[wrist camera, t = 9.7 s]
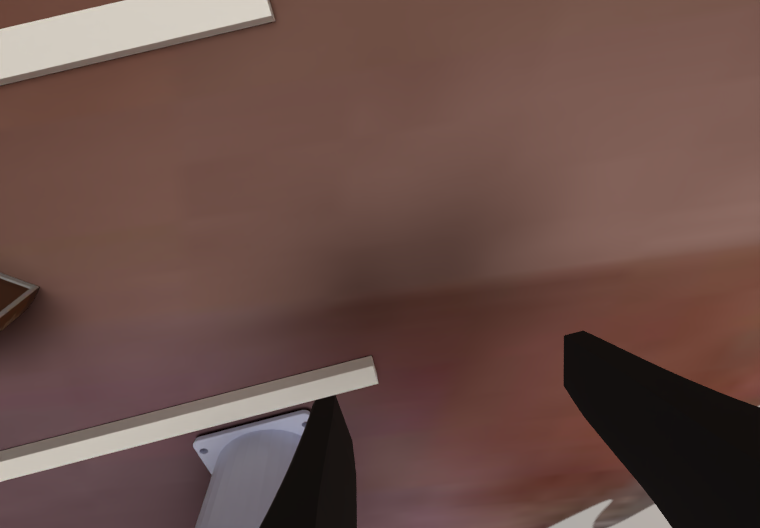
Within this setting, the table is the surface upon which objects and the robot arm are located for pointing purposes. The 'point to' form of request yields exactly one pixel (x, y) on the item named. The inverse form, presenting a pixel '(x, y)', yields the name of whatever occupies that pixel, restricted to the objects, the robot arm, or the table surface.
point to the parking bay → (106, 42)
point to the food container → (14, 298)
